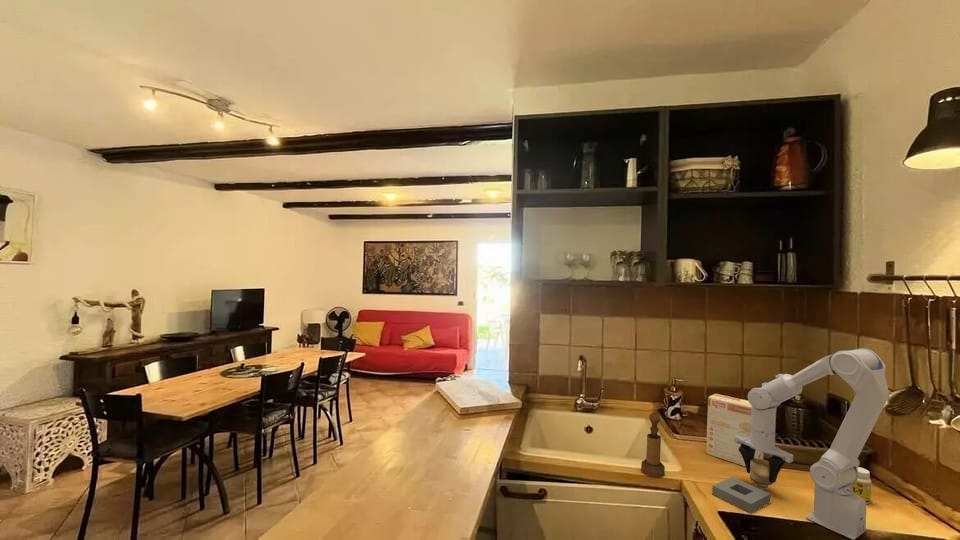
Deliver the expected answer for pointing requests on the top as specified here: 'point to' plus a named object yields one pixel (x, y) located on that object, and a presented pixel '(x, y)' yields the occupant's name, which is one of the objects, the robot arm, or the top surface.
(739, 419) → the coffeecake box
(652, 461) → the mortar and pestle
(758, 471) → the beech peg
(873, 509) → the top surface
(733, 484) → the grey slotted base
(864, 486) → the supplement bottle
